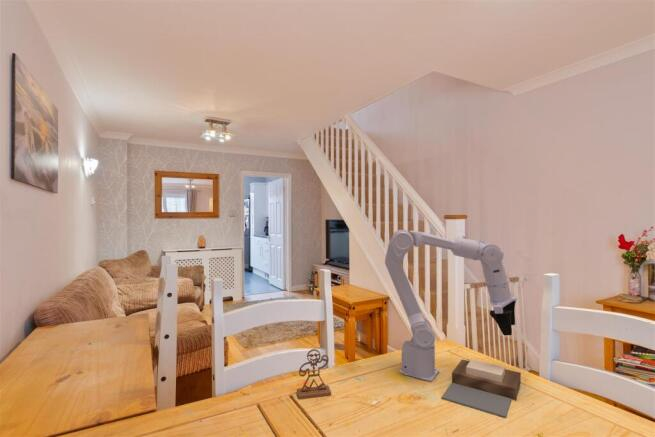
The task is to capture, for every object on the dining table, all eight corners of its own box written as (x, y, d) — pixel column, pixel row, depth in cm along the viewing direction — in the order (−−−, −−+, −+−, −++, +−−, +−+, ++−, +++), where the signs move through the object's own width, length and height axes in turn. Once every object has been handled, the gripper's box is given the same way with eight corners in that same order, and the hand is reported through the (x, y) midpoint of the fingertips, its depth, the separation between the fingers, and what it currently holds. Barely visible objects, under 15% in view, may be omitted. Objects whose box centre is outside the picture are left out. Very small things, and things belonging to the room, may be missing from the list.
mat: (441, 398, 88) (441, 397, 88) (451, 383, 96) (451, 382, 96) (505, 418, 79) (505, 416, 79) (511, 400, 87) (511, 398, 87)
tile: (466, 373, 95) (466, 366, 95) (471, 366, 100) (471, 359, 100) (501, 382, 90) (501, 375, 90) (504, 374, 95) (504, 367, 95)
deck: (452, 383, 96) (452, 372, 96) (461, 368, 105) (461, 359, 105) (515, 400, 87) (515, 388, 87) (520, 383, 96) (520, 372, 96)
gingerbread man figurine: (298, 399, 88) (298, 353, 88) (296, 392, 92) (296, 348, 92) (331, 395, 90) (331, 350, 90) (328, 388, 94) (328, 345, 94)
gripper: (508, 289, 90) (522, 339, 90) (515, 276, 102) (527, 320, 101) (481, 292, 94) (493, 339, 94) (490, 278, 106) (501, 321, 105)
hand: (509, 329), depth 98 cm, fingers open, 7 cm apart
